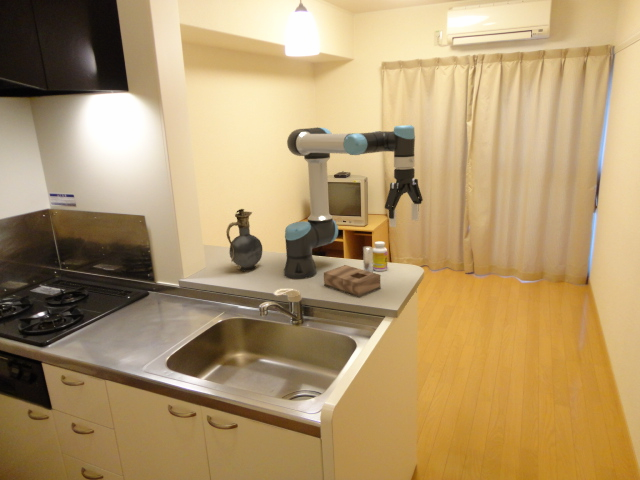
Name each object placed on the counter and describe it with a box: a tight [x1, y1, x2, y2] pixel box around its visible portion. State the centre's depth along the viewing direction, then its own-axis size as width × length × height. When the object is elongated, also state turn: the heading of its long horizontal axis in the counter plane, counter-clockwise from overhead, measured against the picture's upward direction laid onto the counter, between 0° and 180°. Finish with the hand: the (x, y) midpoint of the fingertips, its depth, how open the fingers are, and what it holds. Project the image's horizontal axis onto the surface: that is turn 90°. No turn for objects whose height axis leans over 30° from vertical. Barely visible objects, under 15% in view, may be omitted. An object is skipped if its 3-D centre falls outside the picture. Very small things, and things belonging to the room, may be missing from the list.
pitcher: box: [226, 208, 263, 272], centre depth 214 cm, size 11×19×30 cm, turn 146°
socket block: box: [323, 264, 382, 298], centre depth 188 cm, size 20×13×6 cm, turn 42°
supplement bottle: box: [372, 240, 388, 272], centre depth 208 cm, size 7×7×13 cm
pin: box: [362, 245, 374, 273], centre depth 197 cm, size 4×4×14 cm
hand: (404, 223), depth 175 cm, fingers open, 13 cm apart
